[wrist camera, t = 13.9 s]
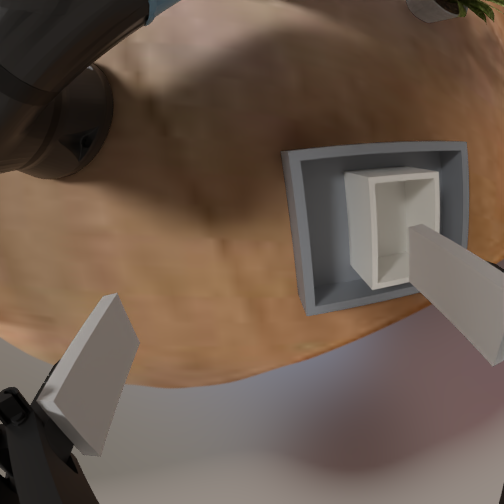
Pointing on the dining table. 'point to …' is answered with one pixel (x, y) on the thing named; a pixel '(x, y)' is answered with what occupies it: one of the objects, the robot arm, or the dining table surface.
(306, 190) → the slate crate
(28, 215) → the dining table surface
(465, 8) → the house plant
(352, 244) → the white crate
